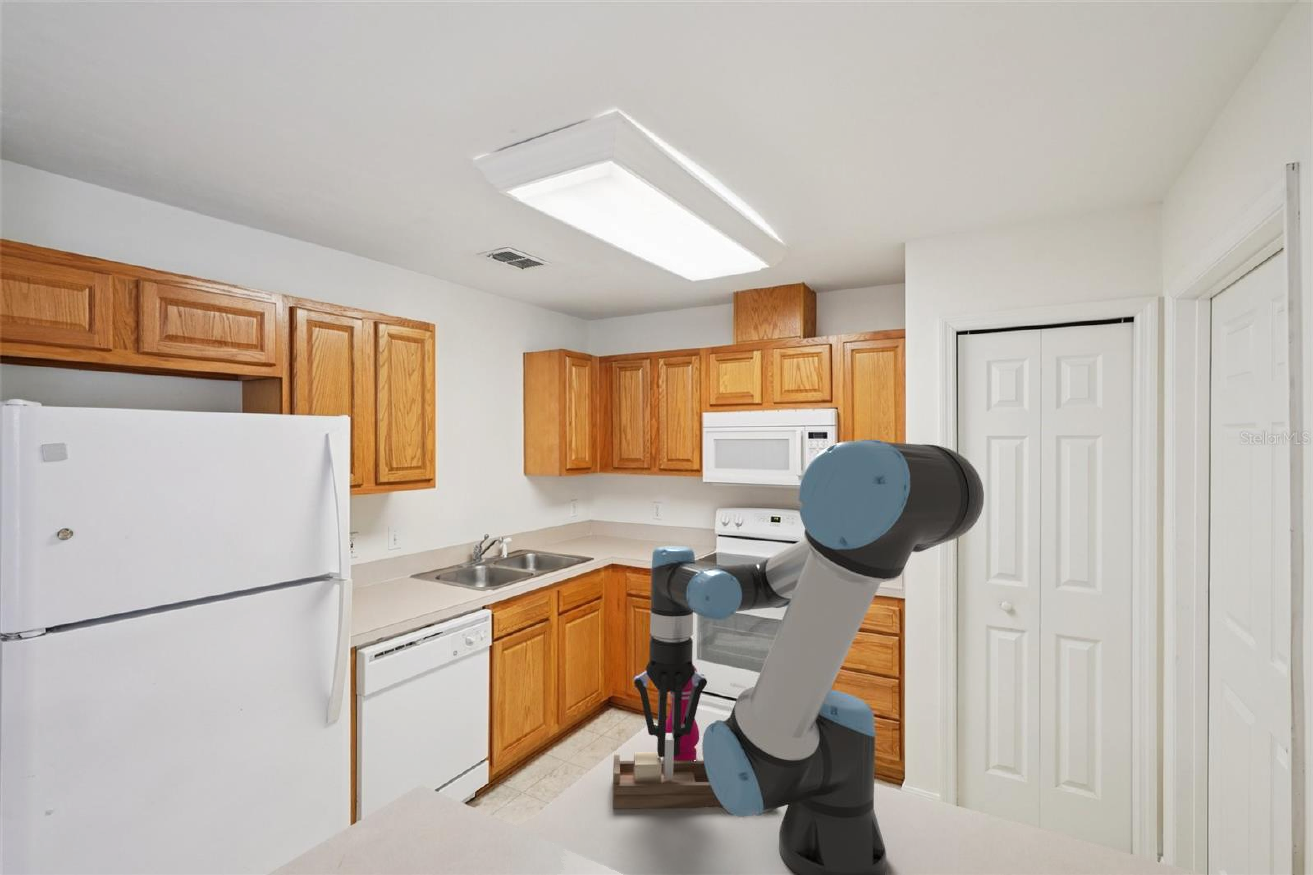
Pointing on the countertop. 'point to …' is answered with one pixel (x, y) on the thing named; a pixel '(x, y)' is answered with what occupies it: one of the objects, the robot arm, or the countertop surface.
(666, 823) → the countertop surface
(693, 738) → the pepper mill
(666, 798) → the channel
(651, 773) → the birch block
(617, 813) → the countertop surface
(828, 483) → the robot arm
